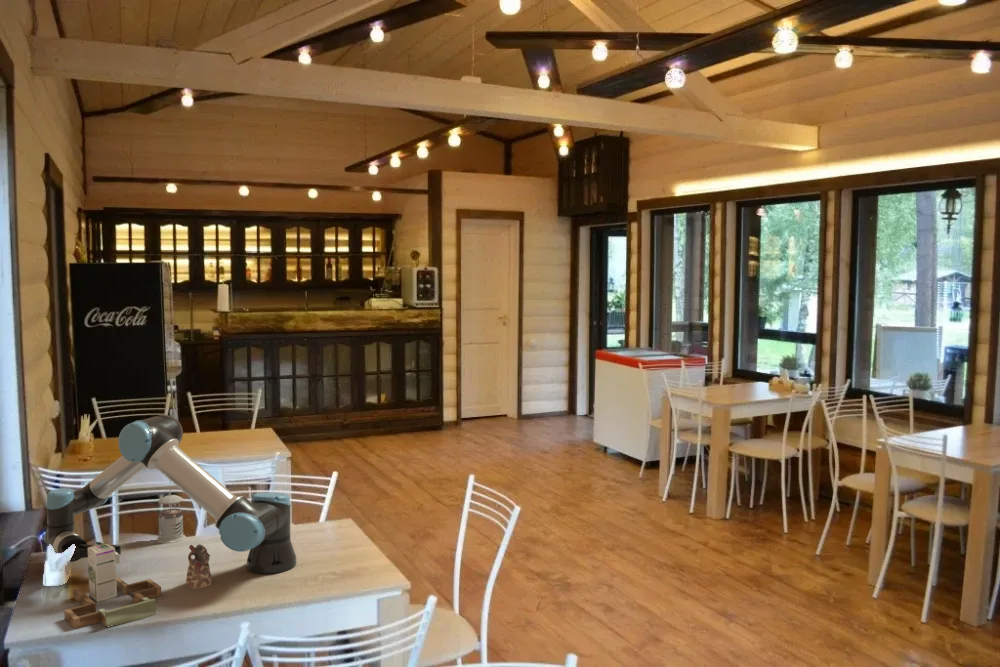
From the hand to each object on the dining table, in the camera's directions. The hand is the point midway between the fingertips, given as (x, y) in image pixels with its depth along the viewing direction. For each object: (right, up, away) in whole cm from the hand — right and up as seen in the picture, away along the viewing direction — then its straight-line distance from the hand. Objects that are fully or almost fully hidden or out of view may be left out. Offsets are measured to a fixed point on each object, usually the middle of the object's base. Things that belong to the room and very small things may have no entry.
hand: (93, 564), depth 230 cm
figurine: (+28, -8, +6) cm, 30 cm away
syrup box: (+5, -8, -4) cm, 10 cm away
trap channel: (+10, -9, -9) cm, 16 cm away
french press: (+3, -5, +49) cm, 49 cm away
